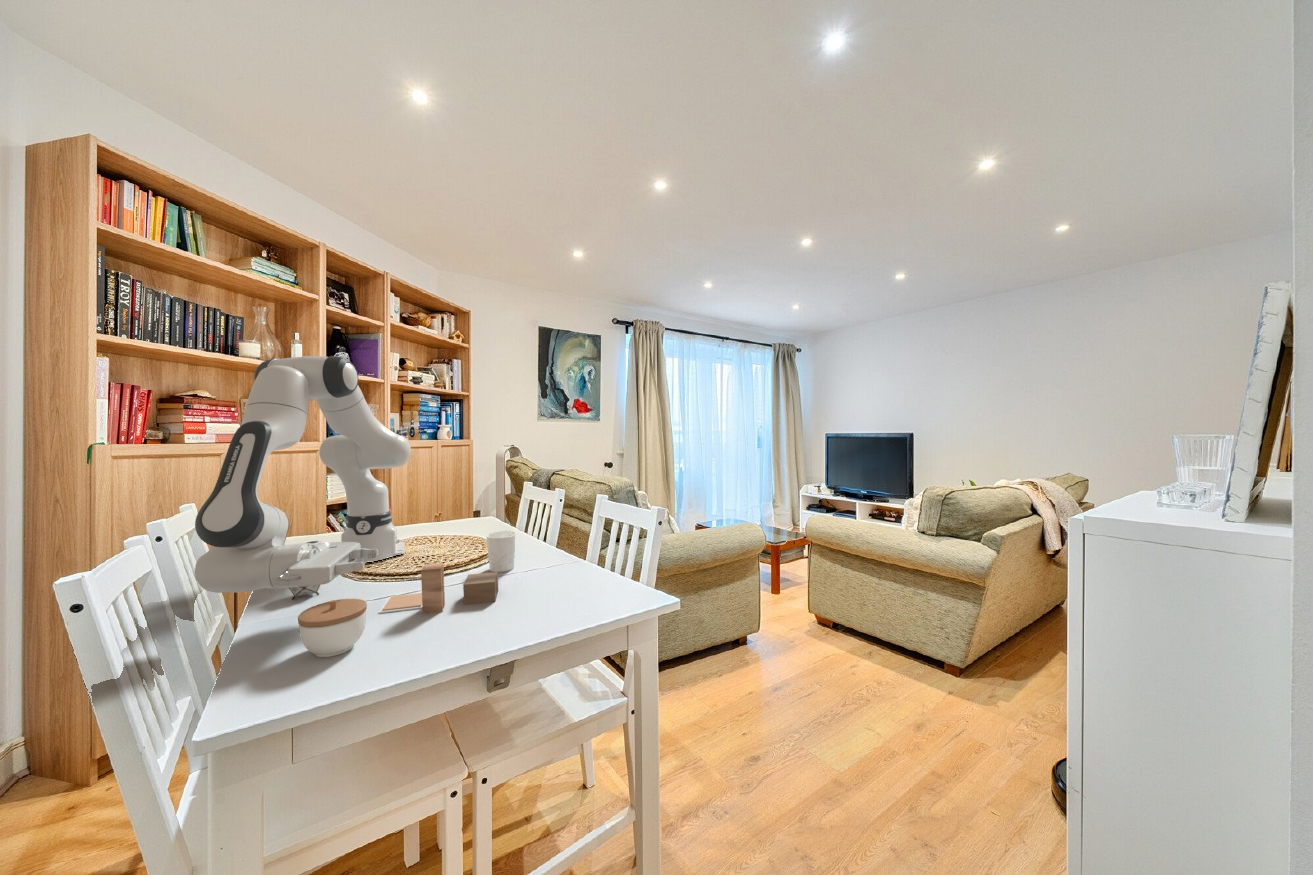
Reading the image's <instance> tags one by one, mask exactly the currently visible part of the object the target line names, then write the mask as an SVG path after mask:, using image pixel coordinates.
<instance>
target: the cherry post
mask: <svg viewBox="0 0 1313 875" xmlns="http://www.w3.org/2000/svg"><path fill="white" fill-rule="evenodd" d="M444 567H445V566H444V562H441V563H428V564H427V563H426V564H424V565H423V566H422V568H421V569H420V576H421V580H420V581H421V593H422V615H427V614H428V615H429V614H436V613H442V612H443V610H444V608H445V606H446V602H445V599H446V598H445V572H444V570H445V569H444Z"/></svg>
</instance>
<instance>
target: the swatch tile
mask: <svg viewBox="0 0 1313 875" xmlns="http://www.w3.org/2000/svg"><path fill="white" fill-rule="evenodd" d="M420 609H422V592H419V593H411V594H409V593H408V594H402V595H392V596H389V597H388V598H387V599H386V601H385V603H383V605H382V607H381V608H380V609H379V611H378V614H384V613H385V614H386V613H395V612H401V611H402V612H403V611H411V610H412V611H413V610H420Z"/></svg>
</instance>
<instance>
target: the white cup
mask: <svg viewBox="0 0 1313 875" xmlns="http://www.w3.org/2000/svg"><path fill="white" fill-rule="evenodd" d="M486 545H487V546H486V548H487V558H488V562H489V563H488V565H489V571H490V572H491V573H493V572H498V573H503V572H504V573H505V572H509V571H512V570H513V569H514V568H515V559H516V558H515V556H516V554H515V552H516V532H514V531H508V530H504V531H503V530H502V531H501V530H500V531H493V532H492V533H491V532H490V533H489V534H487V535H486Z"/></svg>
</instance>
